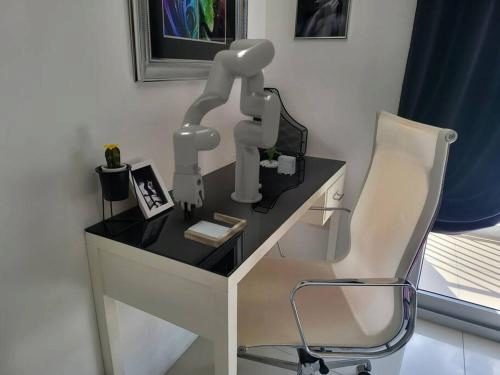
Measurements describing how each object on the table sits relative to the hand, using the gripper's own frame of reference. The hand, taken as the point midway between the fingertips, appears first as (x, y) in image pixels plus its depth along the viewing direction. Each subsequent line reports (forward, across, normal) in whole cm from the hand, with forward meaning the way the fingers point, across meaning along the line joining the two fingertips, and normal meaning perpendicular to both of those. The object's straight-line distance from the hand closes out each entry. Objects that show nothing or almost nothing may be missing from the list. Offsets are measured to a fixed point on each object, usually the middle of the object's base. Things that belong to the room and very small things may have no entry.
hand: (189, 219), depth 117 cm
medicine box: (+3, -5, -73) cm, 74 cm away
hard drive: (+2, -10, +2) cm, 10 cm away
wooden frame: (+1, -11, +1) cm, 11 cm away
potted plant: (+3, +9, -84) cm, 85 cm away
